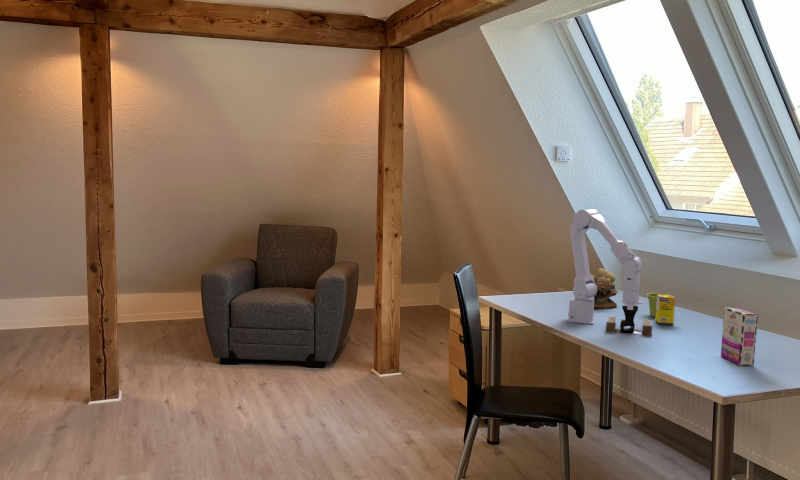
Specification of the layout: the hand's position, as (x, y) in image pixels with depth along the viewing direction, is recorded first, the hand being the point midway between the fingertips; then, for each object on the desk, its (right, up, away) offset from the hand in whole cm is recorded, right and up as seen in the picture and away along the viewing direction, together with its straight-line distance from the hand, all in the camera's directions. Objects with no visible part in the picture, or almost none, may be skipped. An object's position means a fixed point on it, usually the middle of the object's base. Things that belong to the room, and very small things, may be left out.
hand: (629, 325), depth 258 cm
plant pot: (+20, 0, +25) cm, 33 cm away
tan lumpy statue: (+1, +3, +43) cm, 43 cm away
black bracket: (-2, -3, -3) cm, 4 cm away
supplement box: (+18, -1, +12) cm, 21 cm away
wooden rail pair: (0, -2, 0) cm, 2 cm away
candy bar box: (+21, -7, -40) cm, 46 cm away
